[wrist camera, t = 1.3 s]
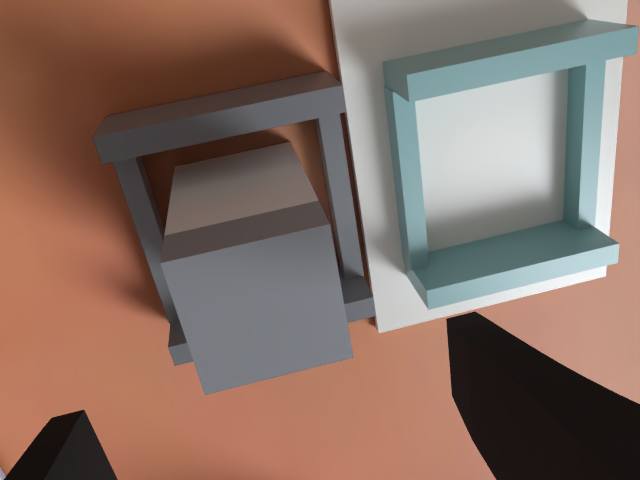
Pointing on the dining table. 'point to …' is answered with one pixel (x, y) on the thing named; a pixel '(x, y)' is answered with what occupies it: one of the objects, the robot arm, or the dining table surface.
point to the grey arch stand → (227, 121)
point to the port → (480, 146)
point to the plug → (253, 269)
